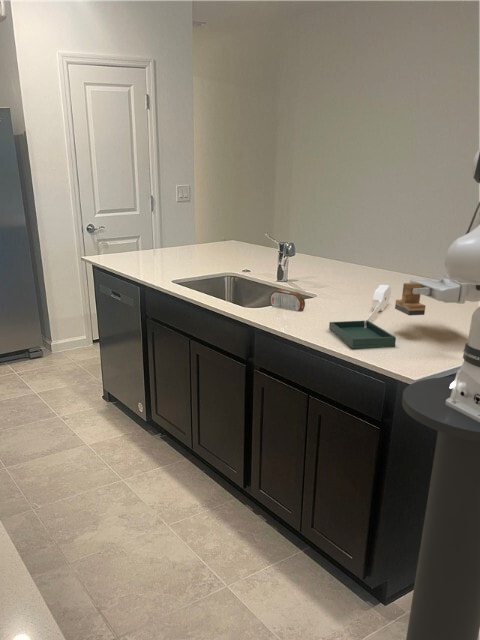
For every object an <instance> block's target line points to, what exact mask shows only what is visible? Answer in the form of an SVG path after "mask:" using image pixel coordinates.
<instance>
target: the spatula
mask: <svg viewBox="0 0 480 640" xmlns="http://www.w3.org/2000/svg"><path fill="white" fill-rule="evenodd" d="M391 294H392V287H391V285H389V284H379V285H378V287H377V288H376V289H375V290H374V293H373V296H372V301H371V302H372V303H371V308H372V312H371V313H370V314H369V315H368V317H367V318H366V319H364V321H365V323H364V329H365V328H366V327H367V321H370V322H371V323H372V321H373V320H374V318H376V315H377V314H378V313H379V312H383V311H384V310H385V309H386V308H387V307H388V305H389V302H390V298H391Z"/></svg>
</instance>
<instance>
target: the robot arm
mask: <svg viewBox="0 0 480 640" xmlns="http://www.w3.org/2000/svg"><path fill="white" fill-rule="evenodd" d="M471 170H472V175H473V176H472V177H473V179H474V181H475V182H476V183H478V184H480V148H479V149H478V150H477V151H476V153H475V155H474V156H473V160H472V165H471ZM444 269H445V272H446V273H447V274H444V275H443V276H442V277H441V278H440V279H439V280H436V279H434V278H433V279H432V278H411V279H410V280H409V283H420V284H422V286H421V288H412V289H411V293H412V294H420V296H425V297H428V298H429V299H433V300H435V301H439V302H444V303H446V304H449V303H450V304H453V303H454V304H459V305H461V304H462V305H463V304H465V303H466V302H467V301H468V302H471V303H472V302H473V303H475V302H480V201H478V204H477V206H476V209H475V211H474V214H473V216H472V218H471V221H470V224H469V226H468V228H467V230H466V233H465V234H464V235H462V236H459V237H458V238H456V239H455V240H454V241H453V242H452V243H451V244H450V245H449V247H448V248H447V250H446V253H445V256H444ZM462 353H463V354H462V359H463V361H462V363H461V366H460V367H459V369H458V370H457V371H456V374H455V376H454V377H455V381H454V382H453V383H452V384H451V385H450V388H452V387H453V389H452V392H451V396H450V398H448V399H447V400H446V402H445V405H447V406H449V407H451V408H453V409H455V410H457V411H459V412H460V413H462V414H464V415H466V416H468V417H470V418H472V419H474V420H476V421H478V422H480V306H478V307H477V308H475V310H474V311H473V313H472V314H471V319H470V324H469V332H468V336H467V342H466V343H465V345H464V348H463V352H462Z"/></svg>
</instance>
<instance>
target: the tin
mask: <svg viewBox="0 0 480 640" xmlns="http://www.w3.org/2000/svg"><path fill="white" fill-rule="evenodd" d="M269 304H270V306H271V307H273V308H279V309H284V310H290V311H294V312H295V311H296V312H302V311H304V310H305V308H306V307H305V306H306V300H305V297H304V296H303V295H302V294H301V293H300V292H298V291H292V290H288V289H282V288H278V289H276V290H274V291H273V292H271V294H270V295H269Z"/></svg>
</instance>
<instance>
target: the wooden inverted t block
mask: <svg viewBox="0 0 480 640" xmlns="http://www.w3.org/2000/svg"><path fill="white" fill-rule="evenodd" d="M402 285H403V287H402V294H401V299H395V304H394V309H395V310H397V311H398V312H401V313H403V314H405V315H407V316H425V313H426V312H425V311H426V305H425V304H423V303H420V301H421V295H420V294H412V293H411V289H412V288H421V286H422V284H420V283H410V282H404V283H403V284H402Z"/></svg>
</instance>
